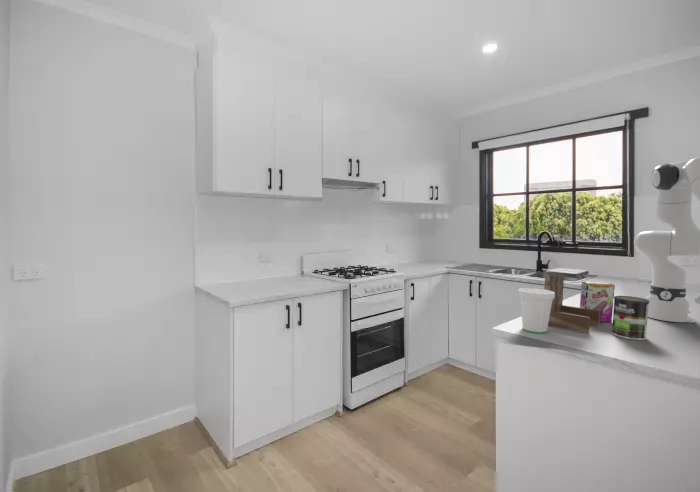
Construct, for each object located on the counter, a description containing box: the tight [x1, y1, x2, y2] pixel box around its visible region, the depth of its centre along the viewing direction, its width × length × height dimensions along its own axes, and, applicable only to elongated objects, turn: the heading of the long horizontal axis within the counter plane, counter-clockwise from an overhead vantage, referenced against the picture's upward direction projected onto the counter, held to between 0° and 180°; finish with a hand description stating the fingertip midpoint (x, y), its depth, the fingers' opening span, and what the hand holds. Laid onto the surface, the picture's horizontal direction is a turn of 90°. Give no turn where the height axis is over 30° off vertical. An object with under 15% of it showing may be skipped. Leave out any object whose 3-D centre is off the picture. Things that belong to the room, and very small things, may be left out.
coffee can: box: [611, 295, 649, 341], centre depth 134 cm, size 10×10×14 cm
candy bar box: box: [579, 281, 615, 323], centre depth 155 cm, size 11×5×16 cm, turn 84°
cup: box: [518, 287, 555, 334], centre depth 139 cm, size 12×12×15 cm
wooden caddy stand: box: [543, 267, 600, 334], centre depth 147 cm, size 18×16×22 cm
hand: (696, 301), depth 121 cm, fingers closed
